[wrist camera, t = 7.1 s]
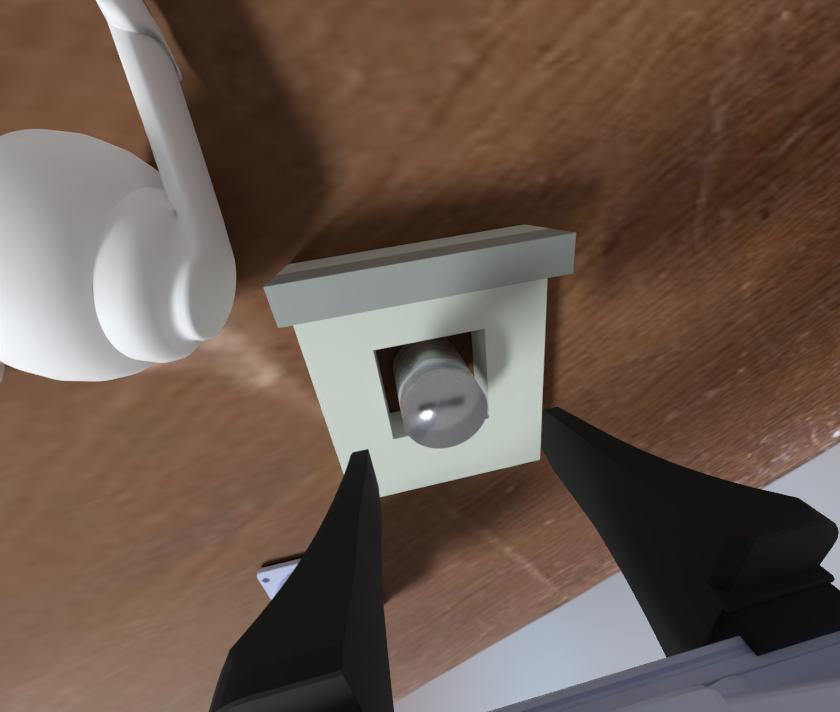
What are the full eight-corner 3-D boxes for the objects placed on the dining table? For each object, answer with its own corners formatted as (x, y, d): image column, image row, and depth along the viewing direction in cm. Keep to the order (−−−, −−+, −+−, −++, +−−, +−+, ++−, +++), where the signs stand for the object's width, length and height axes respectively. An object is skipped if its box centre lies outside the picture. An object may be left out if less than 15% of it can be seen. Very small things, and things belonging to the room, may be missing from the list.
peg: (457, 389, 21) (484, 442, 16) (394, 396, 20) (404, 453, 16) (459, 330, 19) (490, 372, 14) (390, 336, 18) (400, 381, 14)
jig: (522, 434, 23) (556, 484, 19) (354, 472, 22) (352, 533, 18) (524, 224, 17) (576, 232, 13) (288, 264, 16) (263, 287, 12)
